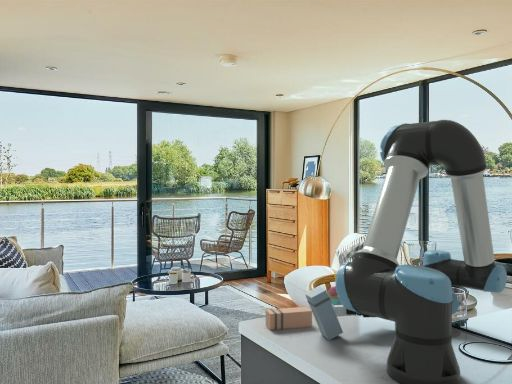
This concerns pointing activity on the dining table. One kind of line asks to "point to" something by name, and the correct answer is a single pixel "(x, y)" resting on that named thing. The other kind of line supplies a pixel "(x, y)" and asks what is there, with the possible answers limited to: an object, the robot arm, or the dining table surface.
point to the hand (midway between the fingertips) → (334, 311)
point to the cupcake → (333, 295)
